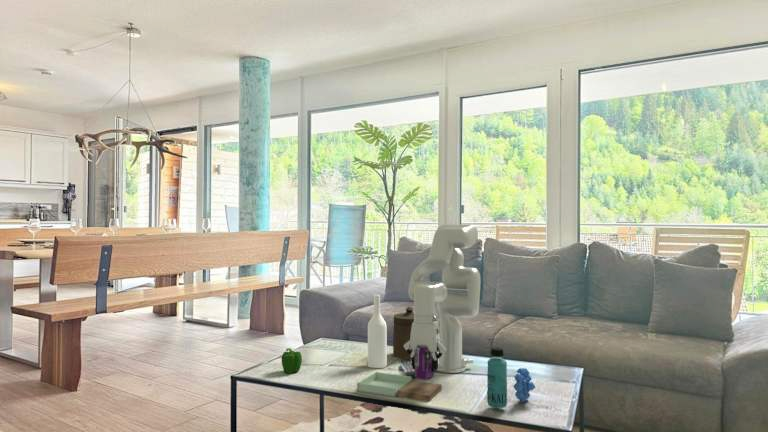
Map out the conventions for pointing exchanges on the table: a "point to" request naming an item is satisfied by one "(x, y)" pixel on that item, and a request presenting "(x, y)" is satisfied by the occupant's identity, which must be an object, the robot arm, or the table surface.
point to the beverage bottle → (497, 380)
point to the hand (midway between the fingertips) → (424, 369)
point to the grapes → (523, 384)
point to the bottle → (377, 338)
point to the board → (419, 390)
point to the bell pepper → (291, 361)
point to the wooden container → (402, 333)
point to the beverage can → (423, 363)
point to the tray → (383, 384)
